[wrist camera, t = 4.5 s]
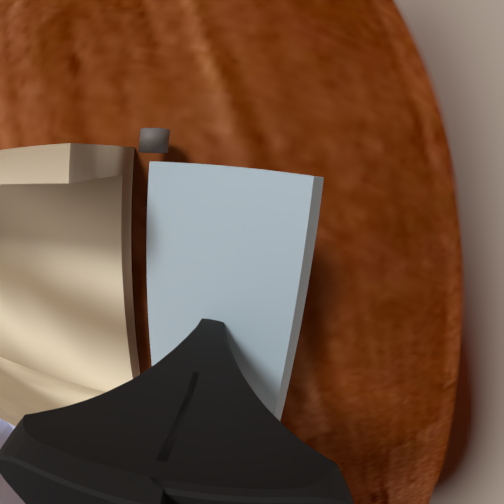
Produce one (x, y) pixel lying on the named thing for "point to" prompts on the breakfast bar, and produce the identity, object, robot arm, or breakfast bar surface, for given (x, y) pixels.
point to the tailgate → (232, 263)
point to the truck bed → (66, 273)
